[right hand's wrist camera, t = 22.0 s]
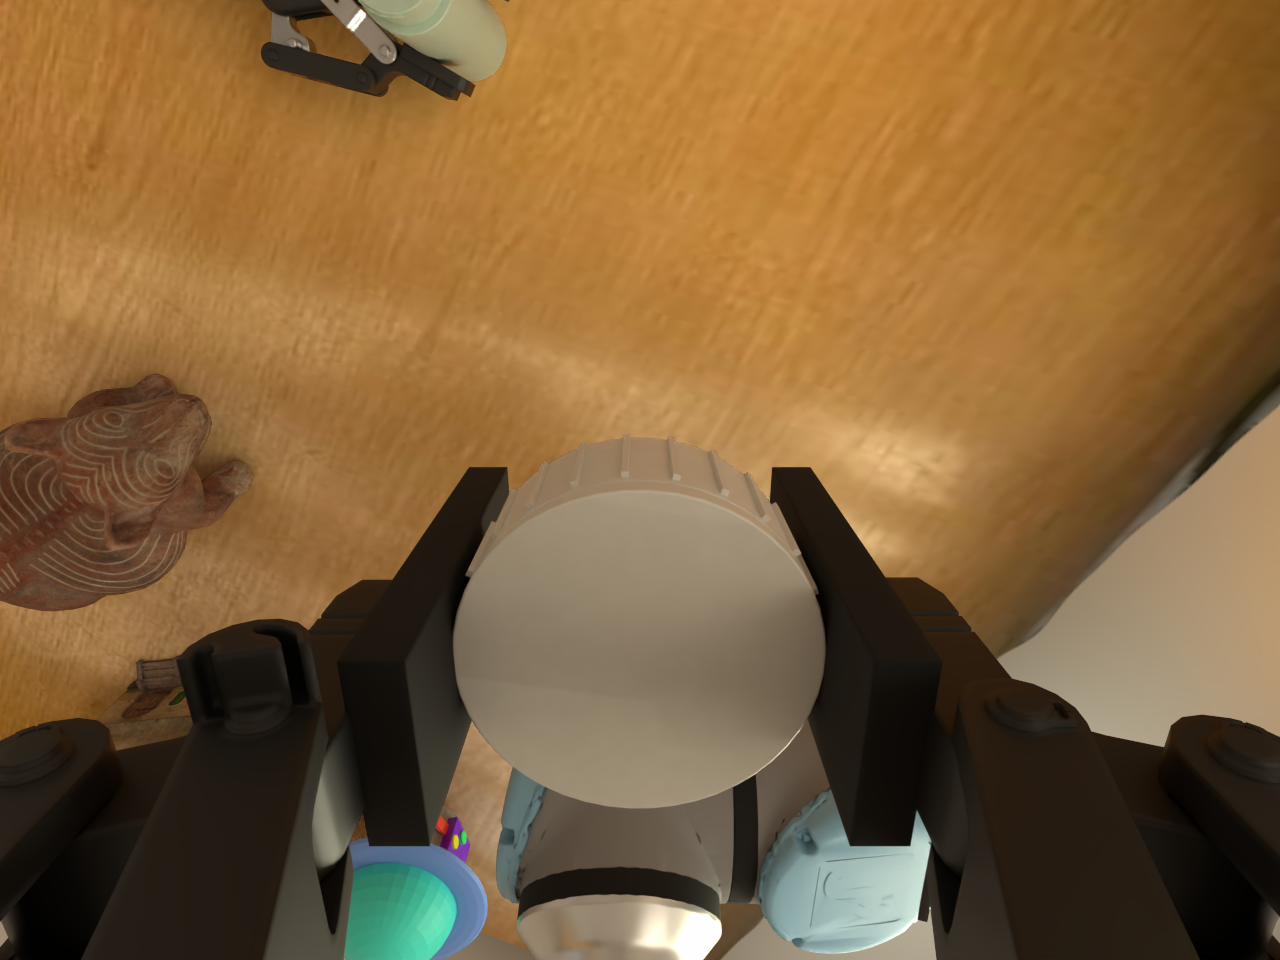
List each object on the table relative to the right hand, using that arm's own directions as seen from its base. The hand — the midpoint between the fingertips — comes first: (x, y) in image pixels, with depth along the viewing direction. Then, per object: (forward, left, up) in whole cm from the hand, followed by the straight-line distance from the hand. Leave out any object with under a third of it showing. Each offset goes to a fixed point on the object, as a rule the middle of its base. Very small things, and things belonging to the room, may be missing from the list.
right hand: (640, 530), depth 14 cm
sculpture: (-26, +28, -38) cm, 54 cm away
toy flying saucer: (-53, -2, -38) cm, 65 cm away
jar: (+10, +16, -38) cm, 43 cm away
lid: (0, 0, +4) cm, 4 cm away
